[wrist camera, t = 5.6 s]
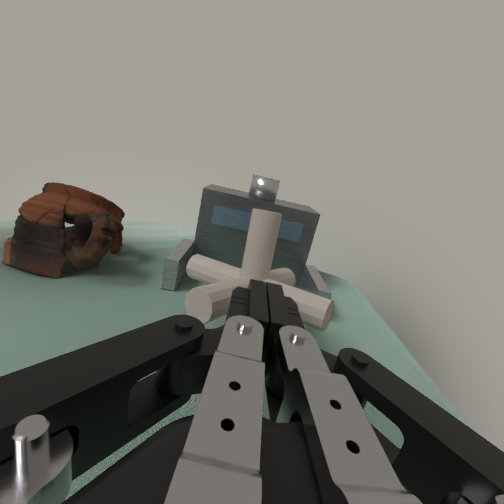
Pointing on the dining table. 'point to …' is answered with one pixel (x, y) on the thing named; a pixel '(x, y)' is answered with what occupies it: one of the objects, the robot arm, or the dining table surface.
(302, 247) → the grey boxy knob-topped device
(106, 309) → the dining table surface
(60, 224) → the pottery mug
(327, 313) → the pipe connector
